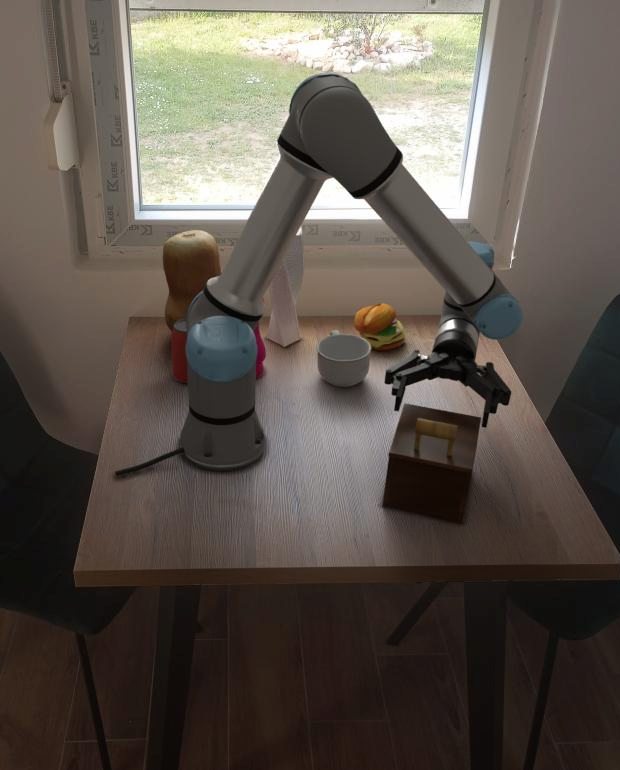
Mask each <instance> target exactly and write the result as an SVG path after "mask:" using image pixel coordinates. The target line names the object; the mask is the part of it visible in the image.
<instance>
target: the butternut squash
mask: <svg viewBox="0 0 620 770" xmlns="http://www.w3.org/2000/svg"><path fill="white" fill-rule="evenodd" d="M162 267H163V272H164V275H165V276H164V277H165V280H166V283H167V288H168V295H167V298H166V302H165V307H164V308H165V309H164V320H165V324H166V327H168V329H169V331H170V332H171V333H172V330H173V328H174V327H173V325H174V323H175V322H176V321H179V320H182V319H186V318H187V313H188V310H189V307H190V305H191V303H192V301H193V300H194V298H195V297H196V296H197V295H198V294H199V293H200V292H202V291H203V290H204V288H205V286H206V284H207V282H208V280H209V279H211V278H214V277H218V276H220V275H221V273H222V268H221V257H220V251H219V246H218V244H217V241H216V239H215V237H214V235H212V234H210V233H209V232H206V231H204V230H199V229H193V230H187V231H182V232H180V233H177V234H174V235H173V236H171V237H170V238H168V239H167V240H166V241H165V242H164V244H163V248H162Z"/></svg>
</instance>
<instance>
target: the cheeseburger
mask: <svg viewBox="0 0 620 770" xmlns="http://www.w3.org/2000/svg"><path fill="white" fill-rule="evenodd" d="M396 311H397V310H395V309H394V308H393V307H392V306H391V305H389V304H386V303H383V302H382V303H377V304H374V305H370V306H366V307H363V308H361V309H359V310H358V311H357V312H356V314H355V316H354V329H355V330H356V331H357V332H358V334H359V336H360V337H362V338H364V339H365V340H367V341H368V342H369V344H370V345H371V350H372V349H373V350H376V351H389V350H393V349H396V348H398V347H400V346H401V345H403V344H404V343H405V341H406V339H407V338H406V337H407V336H406V333H405V329H404V327H403V324H402V323H401V322H400V321H399V320H398V319H397V318H396V317H397V312H396Z"/></svg>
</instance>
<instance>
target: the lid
mask: <svg viewBox="0 0 620 770" xmlns="http://www.w3.org/2000/svg"><path fill="white" fill-rule="evenodd" d="M481 423H482V417H481V416H475V415H470V414H465V413H459V412H454V411H448V410H444V409H438V408H433V407H427V406H422V405H418V404H411V403H406V402H404V403H403V406H402V410H401V412H400V415H399V419H398V421H397V425H396V427H395V432H394V433H393V437H392V440H391V444H390V448H389V450H388V458H389V457H394V458H399V459H404V460H409V461H413V462H418V463H423V464H428V465H433V466H438V467H443V468H448V469H453V470H458V471H463V472H468V473H472V474H473V472H474V466H475V459H476V453H477V447H478V441H479V435H480V428H481Z"/></svg>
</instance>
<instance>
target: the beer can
mask: <svg viewBox="0 0 620 770" xmlns="http://www.w3.org/2000/svg"><path fill="white" fill-rule="evenodd" d="M173 327H174V328H173V330H172V332H171V335H170V336H171V337H170V338H171V339H170V340H171V358H172V360H171V361H172V363H171V364H172V376H173V378H174V379H175V380H176V381H177V382H179V383H181V384H188V370H187V357H186V343H187V327H186V319H182V320H179V321H176V322H175V323H174V325H173Z"/></svg>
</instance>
